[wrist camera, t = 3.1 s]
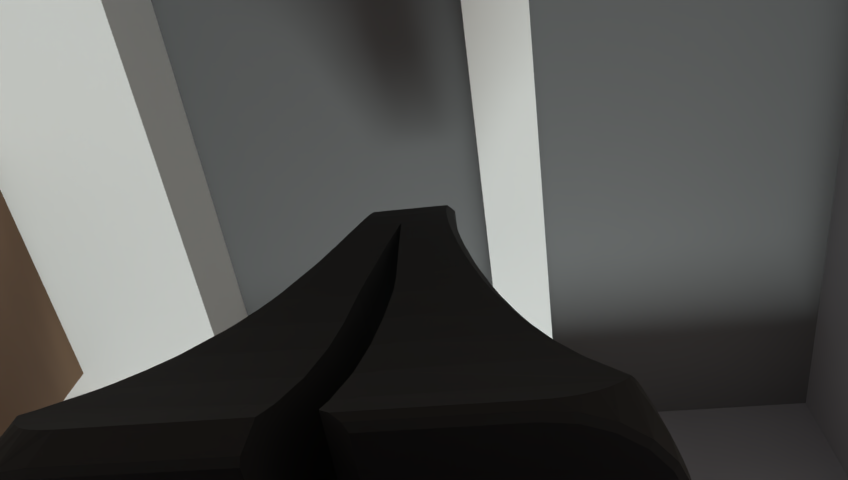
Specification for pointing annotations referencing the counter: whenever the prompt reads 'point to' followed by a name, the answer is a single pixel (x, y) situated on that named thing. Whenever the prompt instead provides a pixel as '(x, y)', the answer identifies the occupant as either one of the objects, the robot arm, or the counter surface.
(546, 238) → the box
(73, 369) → the walnut block
